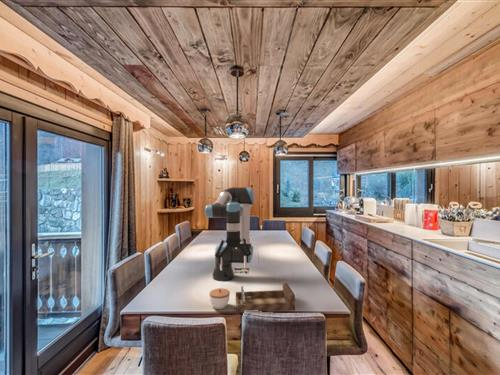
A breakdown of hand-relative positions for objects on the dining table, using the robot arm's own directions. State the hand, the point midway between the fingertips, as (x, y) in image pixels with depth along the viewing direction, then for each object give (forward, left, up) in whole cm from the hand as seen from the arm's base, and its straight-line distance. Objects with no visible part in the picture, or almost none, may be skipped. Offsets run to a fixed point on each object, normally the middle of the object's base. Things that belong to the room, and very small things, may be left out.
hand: (233, 268), depth 144 cm
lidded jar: (-5, -7, -19) cm, 21 cm away
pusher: (+8, 0, -18) cm, 20 cm away
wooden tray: (+17, +4, -19) cm, 25 cm away
